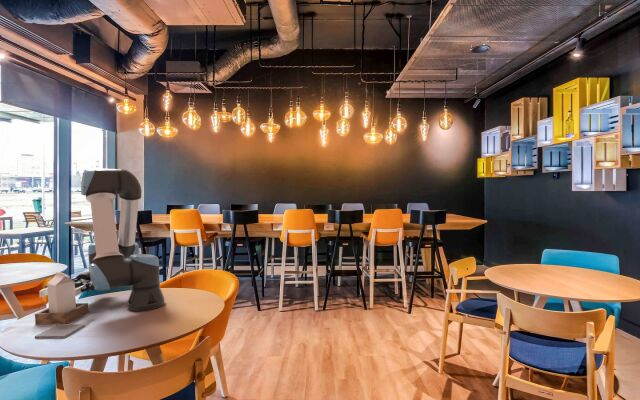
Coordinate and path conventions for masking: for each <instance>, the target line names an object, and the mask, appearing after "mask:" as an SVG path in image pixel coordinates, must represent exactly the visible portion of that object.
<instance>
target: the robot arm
mask: <svg viewBox="0 0 640 400" xmlns="http://www.w3.org/2000/svg"><path fill="white" fill-rule="evenodd" d="M80 194H81V195H82V196H85V200H86V201H88V202H89V203H90V209H91V219H92V226H93V228H92V229H93V236H94V237H93V238H94V242H92V243H90V244H89V245H88V247H87V248H88V251H87V254H88V264H89V265H88V270H87V271H84V272H82V273H80V274H78V275H76V276H75V278H74V279H72V280H73V281H74V282H75V289H74V296H75V297H77V296H79V295H81V294H83V293H85V292H89V291H94V290H96V291H101V292H102V291H110V290H114V289H119V288H124V287H129V286H130V290H131V291H130V294H129V298H128V301H127V310H128V311H129V312H130V311H131V312H145V311H146V312H147V311H151V310H155V309H158V308H160V307H163V306H164V305H165V301H166V299H165V297H164V294H163V292H162V290H161V289H162V288H161V284H160V281H161V280H160V261H159V260H160V259H159V257H158V256H156V255H154V254H147V253H146V254H145V253H140V245H139V244H138V243H137V242H136V233H137V223H138V221H137V220H138V209H139V201H140V199H141V198H142V186H141V183H140V182H139V179H138V178H137V176H135V174H134V173H133V172H131V171H129V170H126V169H123V168H86V169H85V170H83V171H82V175H81V185H80ZM117 195H118V197H119V199H120V207H119V209H120V210H119V222H118V223H119V224H118V233H117V223H116V215H115V208H114V200H115V199H116V198H117ZM38 295H39V298H44V297H45V296H48V285H44V288H43V289H41V290H39V294H38Z"/></svg>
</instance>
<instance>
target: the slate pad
mask: <svg viewBox="0 0 640 400" xmlns="http://www.w3.org/2000/svg"><path fill="white" fill-rule="evenodd" d="M85 326H86V324H85V323H84V324H83V323H79V324H78V323H77V324H76V323H75V324H73V323H72V324H70V323H68V324H54V325H53V326H52V327H50V328H48V329H46V330H44V331H42V332H41V333H38V334H36V335H34V339H65V338H67V337H69V336H71V335H73V334H74V333H77V332H78V331H79V330H82V329H83V328H85Z"/></svg>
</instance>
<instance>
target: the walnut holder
mask: <svg viewBox="0 0 640 400" xmlns="http://www.w3.org/2000/svg"><path fill="white" fill-rule="evenodd" d="M88 313H90V311H89V303H88V302H86V303H85V302H84V303H83V302H77V303H76V308H75V309H73V310H71V311H69V312H67V313H49V307H48V308H46V309H44V310H41V311H39V312H36V313H34V318H35V319H34V321H35V325H65V324H70V323H72V322H74V321H75V320H77V319H80V318H81V317H83V316H85V315H87V314H88Z"/></svg>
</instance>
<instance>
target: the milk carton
mask: <svg viewBox="0 0 640 400" xmlns="http://www.w3.org/2000/svg"><path fill="white" fill-rule="evenodd" d="M73 280H74V279H71V276H70V275H68V274H66V273H64V272H60V271H56V272H55V275H54V276H53V277H52V278H51V279H50V281H48V282H47V283H46V284H47V285H48V295H47V300H48V301H47V302H48V308H49V313H67V312H69V311H71V310H73V309H75V308H76V296H74V289H75V282H74V281H73ZM47 285H46V286H47Z"/></svg>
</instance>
